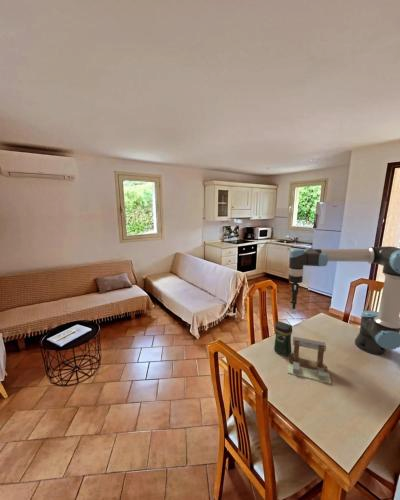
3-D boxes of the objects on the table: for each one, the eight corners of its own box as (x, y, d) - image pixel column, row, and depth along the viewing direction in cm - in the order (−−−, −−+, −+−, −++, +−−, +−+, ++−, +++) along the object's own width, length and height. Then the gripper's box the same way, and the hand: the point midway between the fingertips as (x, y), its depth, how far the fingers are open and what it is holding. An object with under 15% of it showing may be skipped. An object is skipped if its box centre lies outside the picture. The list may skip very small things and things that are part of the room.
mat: (328, 374, 116) (329, 369, 115) (331, 383, 109) (331, 378, 109) (288, 364, 123) (288, 359, 123) (287, 373, 117) (288, 368, 116)
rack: (324, 364, 123) (326, 343, 120) (326, 371, 118) (328, 349, 115) (290, 357, 130) (291, 336, 127) (290, 363, 124) (291, 341, 122)
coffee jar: (293, 352, 134) (294, 324, 131) (287, 358, 129) (289, 329, 125) (277, 345, 141) (279, 318, 138) (272, 351, 135) (273, 323, 132)
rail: (324, 347, 120) (325, 342, 119) (325, 351, 117) (326, 345, 117) (293, 341, 126) (293, 336, 126) (293, 344, 123) (293, 339, 123)
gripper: (289, 269, 142) (288, 300, 146) (287, 280, 120) (285, 316, 123) (302, 270, 139) (300, 301, 143) (303, 282, 117) (300, 319, 120)
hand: (293, 308), depth 133 cm, fingers open, 13 cm apart
